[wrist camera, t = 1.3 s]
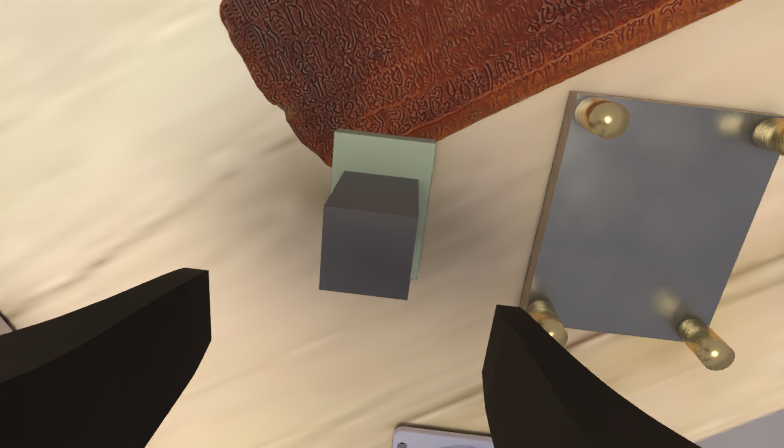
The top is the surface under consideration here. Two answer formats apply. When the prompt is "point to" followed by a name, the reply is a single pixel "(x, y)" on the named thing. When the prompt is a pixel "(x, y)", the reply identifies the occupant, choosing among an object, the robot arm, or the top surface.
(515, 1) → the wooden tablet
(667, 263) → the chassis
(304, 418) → the top surface
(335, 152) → the green grey stepped block
